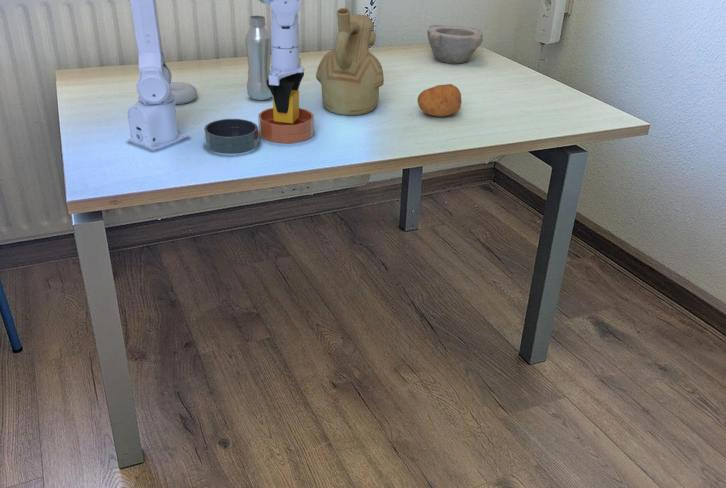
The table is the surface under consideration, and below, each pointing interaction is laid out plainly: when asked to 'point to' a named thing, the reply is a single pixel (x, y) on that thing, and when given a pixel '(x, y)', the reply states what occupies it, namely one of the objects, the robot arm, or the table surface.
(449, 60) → the mortar
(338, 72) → the ceramic vessel
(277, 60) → the robot arm
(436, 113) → the potato
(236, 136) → the pot
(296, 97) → the block
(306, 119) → the bowl
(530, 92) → the table surface
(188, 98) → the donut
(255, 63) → the silver bottle
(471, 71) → the table surface
